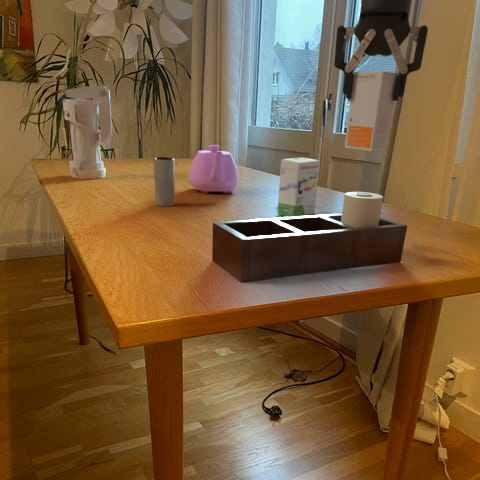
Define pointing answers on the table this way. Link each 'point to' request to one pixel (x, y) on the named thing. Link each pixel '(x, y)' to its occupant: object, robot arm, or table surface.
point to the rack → (302, 246)
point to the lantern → (88, 129)
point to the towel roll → (361, 209)
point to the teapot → (213, 171)
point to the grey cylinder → (164, 181)
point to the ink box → (298, 186)
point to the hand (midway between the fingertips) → (372, 99)
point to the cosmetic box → (370, 111)
